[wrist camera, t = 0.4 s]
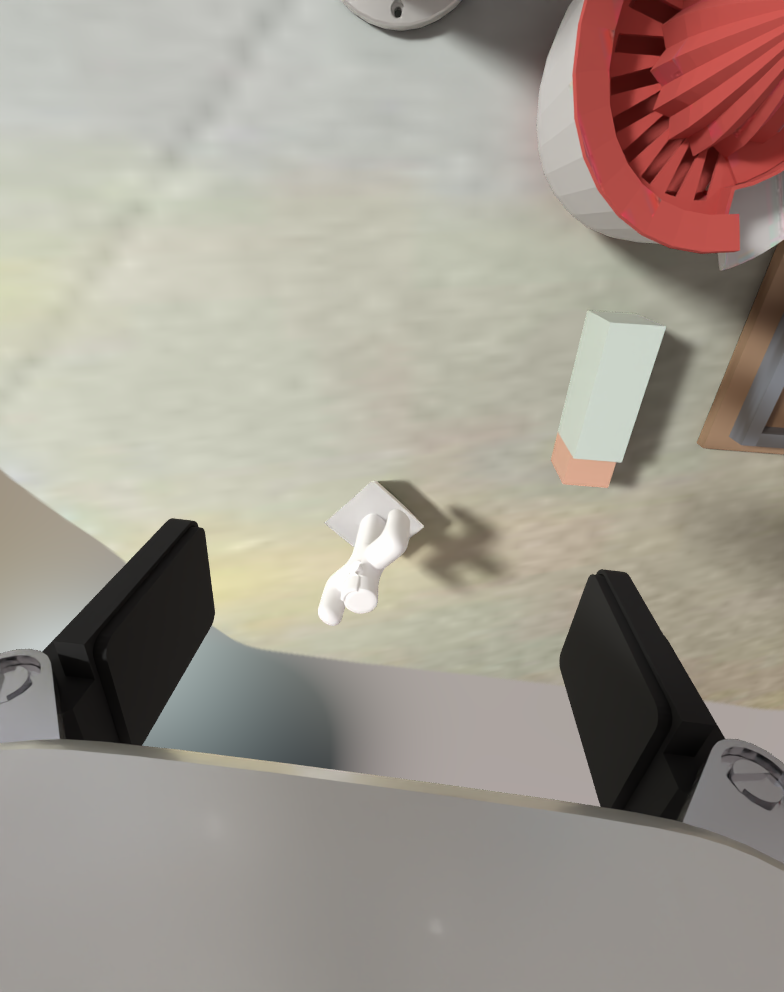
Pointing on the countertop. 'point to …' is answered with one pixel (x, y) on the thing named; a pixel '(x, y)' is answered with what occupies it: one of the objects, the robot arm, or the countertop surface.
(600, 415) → the white bar
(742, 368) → the jig
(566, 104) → the citrus juicer
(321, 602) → the figurine
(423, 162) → the countertop surface
